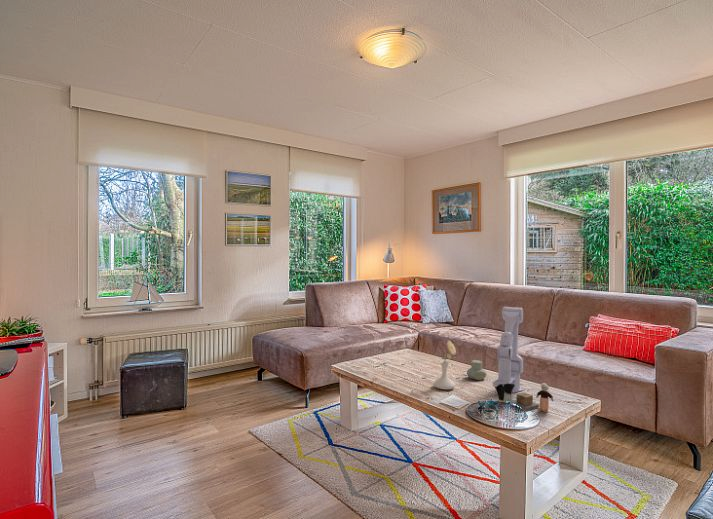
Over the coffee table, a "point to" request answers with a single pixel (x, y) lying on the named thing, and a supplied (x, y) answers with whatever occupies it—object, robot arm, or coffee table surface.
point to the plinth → (528, 407)
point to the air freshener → (476, 370)
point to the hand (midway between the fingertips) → (504, 399)
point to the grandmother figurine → (544, 397)
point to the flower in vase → (444, 380)
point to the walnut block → (524, 399)
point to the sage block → (505, 397)
